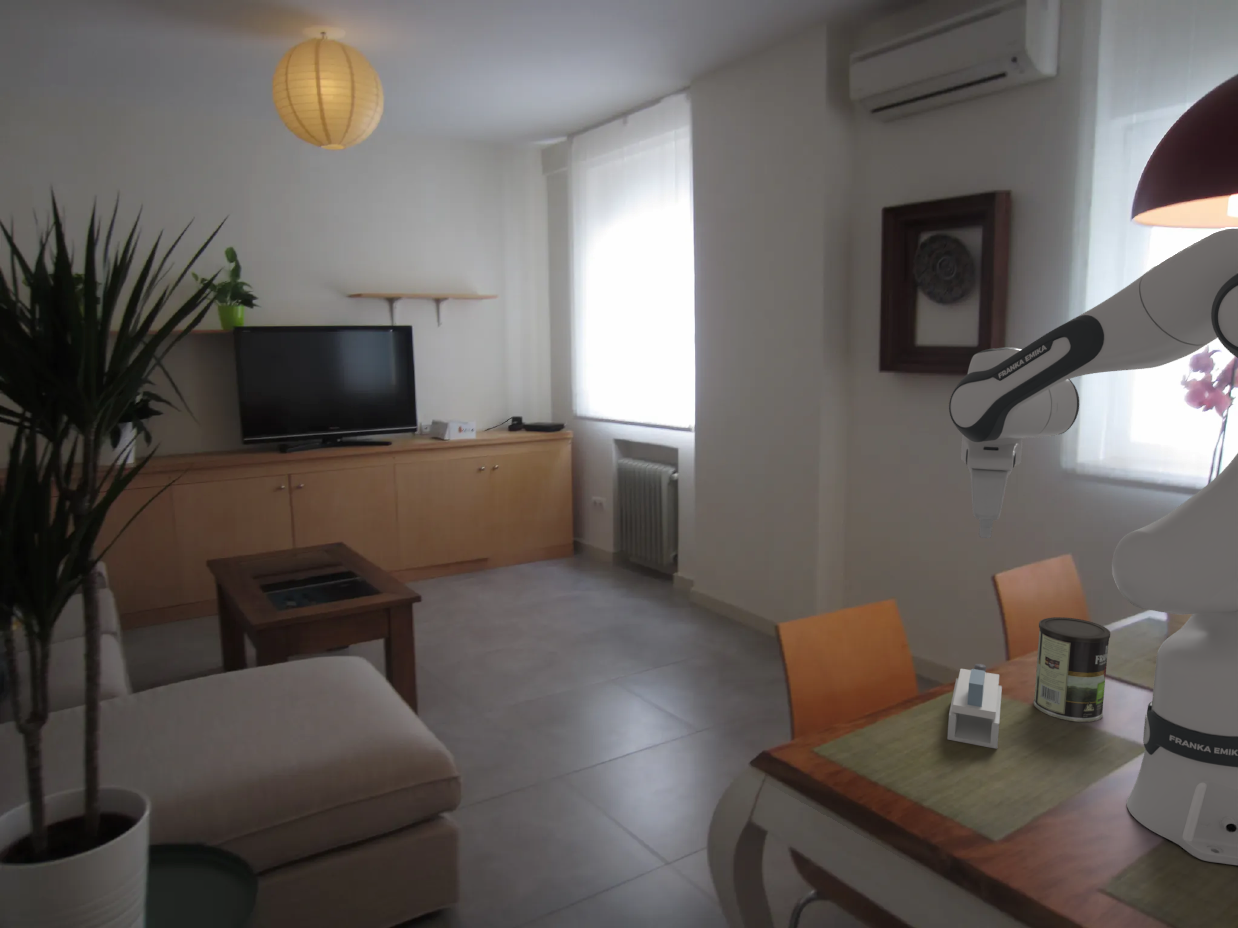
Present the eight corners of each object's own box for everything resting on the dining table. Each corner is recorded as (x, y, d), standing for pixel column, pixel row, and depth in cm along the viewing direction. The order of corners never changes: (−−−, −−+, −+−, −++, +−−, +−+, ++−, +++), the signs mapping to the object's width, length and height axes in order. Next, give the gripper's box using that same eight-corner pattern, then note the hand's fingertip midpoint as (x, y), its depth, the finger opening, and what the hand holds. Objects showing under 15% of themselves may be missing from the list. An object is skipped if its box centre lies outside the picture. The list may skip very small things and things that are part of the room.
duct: (1000, 708, 141) (1001, 685, 140) (997, 748, 127) (999, 723, 127) (954, 700, 144) (956, 678, 143) (947, 739, 130) (948, 714, 130)
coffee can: (1107, 705, 142) (1114, 624, 140) (1097, 728, 134) (1105, 642, 131) (1039, 690, 148) (1046, 612, 146) (1026, 711, 140) (1032, 629, 138)
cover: (997, 700, 143) (1001, 651, 141) (993, 744, 128) (997, 689, 126) (959, 694, 145) (962, 645, 144) (950, 736, 130) (954, 682, 129)
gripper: (971, 442, 145) (966, 521, 147) (967, 458, 127) (961, 548, 129) (1012, 444, 143) (1006, 524, 145) (1013, 461, 124) (1006, 553, 126)
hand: (985, 536), depth 137 cm, fingers closed
